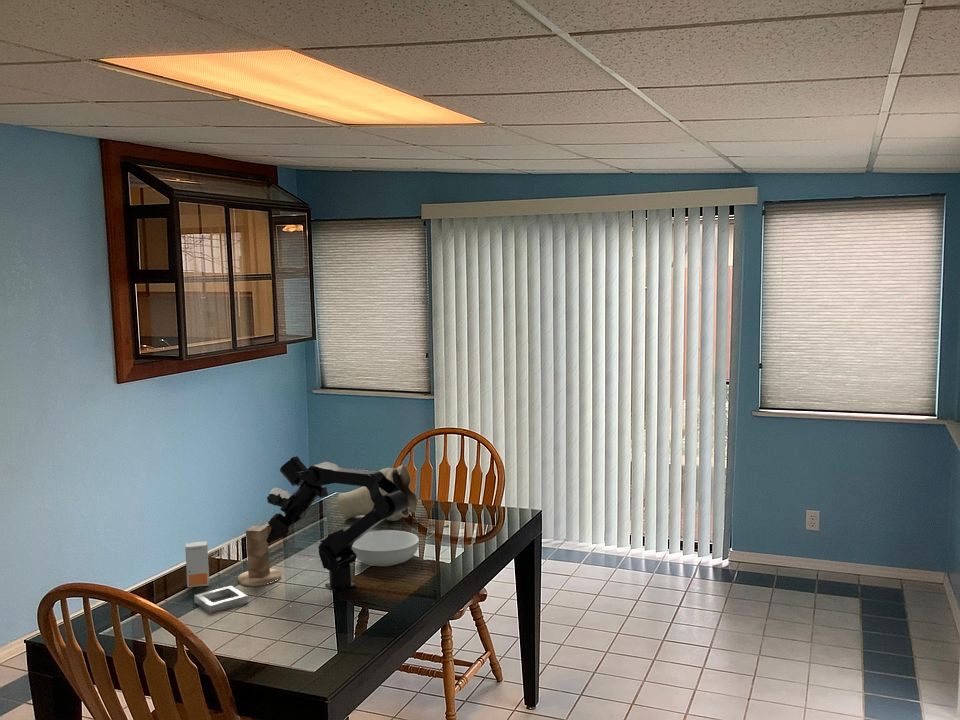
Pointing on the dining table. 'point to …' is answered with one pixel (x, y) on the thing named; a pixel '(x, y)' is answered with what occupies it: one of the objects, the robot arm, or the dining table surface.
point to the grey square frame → (211, 607)
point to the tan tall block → (257, 552)
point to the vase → (361, 500)
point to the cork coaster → (247, 581)
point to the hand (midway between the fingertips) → (273, 536)
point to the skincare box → (197, 564)
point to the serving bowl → (385, 547)
